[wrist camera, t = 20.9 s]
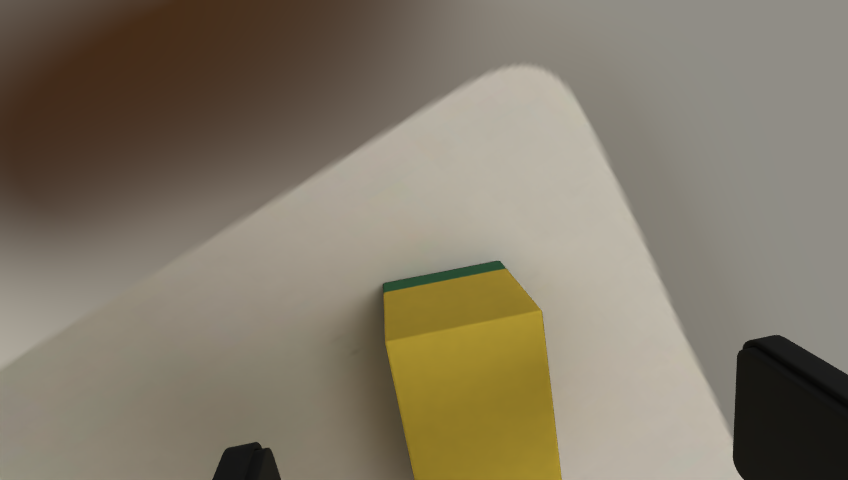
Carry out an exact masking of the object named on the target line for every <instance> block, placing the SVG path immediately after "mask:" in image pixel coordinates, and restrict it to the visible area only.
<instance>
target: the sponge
mask: <svg viewBox="0 0 848 480" xmlns="http://www.w3.org/2000/svg"><path fill="white" fill-rule="evenodd" d="M383 293H384V324H385V345H386V349H387V354H388V359H389V363H390V368H391V373H392V377H393V382H394V387H395V391H396V396H397V401H398V405H399V410H400V415H401V419H402V424H403V428H404V433H405V438H406V442H407V447H408V452H409V456H410V461H411V466H412V470H413V475H414V480H562V478H561V469H560V461H559V452H558V444H557V435H556V427H555V418H554V409H553V401H552V392H551V384H550V375H549V367H548V358H547V350H546V341H545V333H544V324H543V316H542V311H541V309H540V308H539V307H538V306H537V305H536V303H535V302H534V301H533V300H532V299H531V297H530V296H529V295H528V294H527V293H526V291H525V290H524V289H523V288H522V287H521V285H520V284H519V283H518V282H517V281H516V280H515V278H514V277H513V276H512V275H511V274H510V272H509V271H508V270H507V269H506V268H505V267H504V265H503V264H502V263H501V262H500V261H495V262H490V263H485V264H480V265H474V266H469V267H464V268H459V269H454V270H449V271H444V272H439V273H434V274H429V275H424V276H418V277H413V278H408V279H403V280H398V281H393V282H388V283H384V284H383Z"/></svg>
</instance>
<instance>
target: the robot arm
mask: <svg viewBox="0 0 848 480" xmlns="http://www.w3.org/2000/svg"><path fill="white" fill-rule="evenodd" d="M733 461H734V465H735V467H736V469H737V471H738V473H739V474H740V476H741V477H742V478H743V479H744V480H848V375H847V374H846V373H844V372H842V371H840V370H839V369H837V368H835V367H834V366H832V365H830V364H829V363H827V362H825V361H824V360H822V359H820V358H818V357H817V356H815V355H813V354H812V353H810V352H808V351H807V350H805V349H803V348H802V347H800V346H798V345H796V344H795V343H793V342H791V341H790V340H788V339H786V338H785V337H782V336H780V335H773V336H768V337H763V338H759V339H754V340H749V341H747V342H745V344H744V345H743V350H741V351H739V353H738V355H737V372H736V395H735V419H734V442H733ZM212 480H281V478H280V475H279V472H278V469H277V466H276V462H275V459H274V456H273V453H272V451H271V449H270V448H264V449H262V447H261V445H260V444H259V443H258V442H254V443H249V444H244V445H239V446H234V447H230V448H227V449H226V450H225V451H224V453H223V455H222V457H221V460H220V462H219V465H218V467H217V470H216V472H215V474H214V477H213V479H212Z"/></svg>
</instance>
